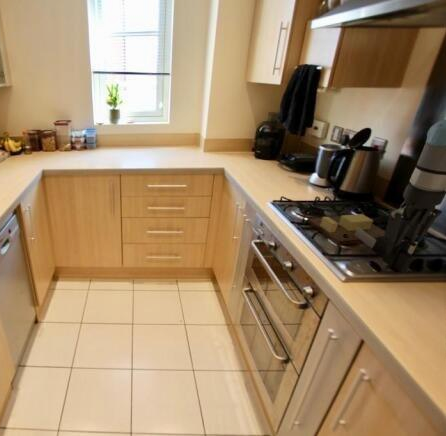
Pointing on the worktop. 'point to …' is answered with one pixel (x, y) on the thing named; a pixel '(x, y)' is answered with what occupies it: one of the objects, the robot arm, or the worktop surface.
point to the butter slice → (328, 224)
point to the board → (344, 231)
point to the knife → (380, 246)
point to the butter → (355, 222)
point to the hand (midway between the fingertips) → (391, 262)
